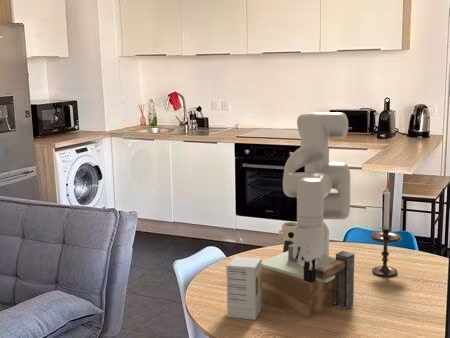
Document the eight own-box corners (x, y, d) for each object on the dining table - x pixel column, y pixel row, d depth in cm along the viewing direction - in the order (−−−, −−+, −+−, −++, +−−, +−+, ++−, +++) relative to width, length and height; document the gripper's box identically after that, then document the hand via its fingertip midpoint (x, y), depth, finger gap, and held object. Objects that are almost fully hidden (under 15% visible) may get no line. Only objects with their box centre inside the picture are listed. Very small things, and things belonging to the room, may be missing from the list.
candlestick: (396, 267, 213) (399, 177, 207) (402, 278, 203) (406, 183, 196) (367, 267, 214) (369, 177, 208) (372, 277, 204) (374, 183, 197)
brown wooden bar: (344, 262, 181) (344, 255, 181) (353, 265, 179) (353, 257, 178) (313, 277, 169) (314, 269, 169) (323, 279, 167) (323, 271, 166)
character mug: (283, 259, 225) (283, 228, 223) (274, 254, 232) (274, 223, 229) (306, 255, 230) (306, 224, 228) (297, 250, 236) (297, 220, 234)
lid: (294, 250, 198) (294, 234, 197) (357, 267, 181) (357, 249, 180) (257, 265, 184) (257, 248, 183) (321, 284, 167) (322, 265, 166)
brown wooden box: (294, 283, 200) (294, 236, 197) (358, 302, 183) (359, 251, 180) (258, 300, 186) (257, 250, 183) (323, 323, 168) (323, 267, 165)
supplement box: (255, 320, 171) (255, 268, 168) (226, 317, 174) (225, 265, 171) (262, 307, 180) (261, 257, 177) (234, 305, 183) (233, 255, 180)
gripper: (314, 213, 169) (313, 271, 172) (283, 223, 159) (283, 285, 162) (335, 217, 164) (334, 277, 167) (305, 228, 153) (305, 292, 157)
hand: (309, 280), depth 165 cm, fingers closed
